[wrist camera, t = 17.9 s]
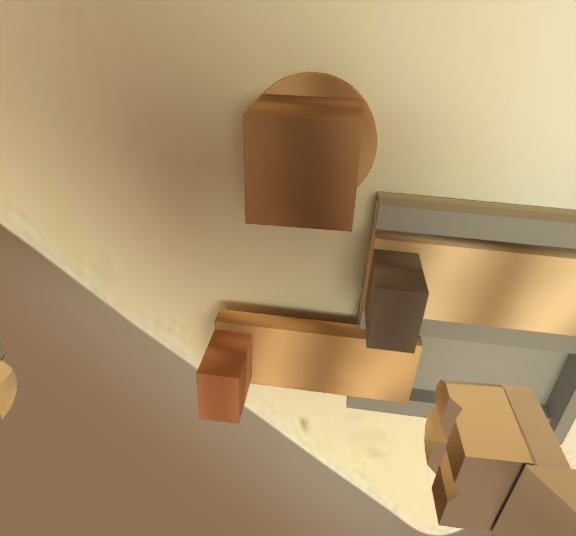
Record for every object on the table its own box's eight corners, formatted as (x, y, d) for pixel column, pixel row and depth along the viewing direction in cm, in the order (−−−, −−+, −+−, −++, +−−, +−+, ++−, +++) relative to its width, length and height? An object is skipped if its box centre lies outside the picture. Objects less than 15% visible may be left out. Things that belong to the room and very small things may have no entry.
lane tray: (347, 386, 34) (346, 416, 31) (378, 191, 26) (380, 211, 24) (546, 411, 33) (561, 444, 30) (638, 215, 25) (668, 238, 23)
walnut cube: (263, 186, 26) (245, 223, 22) (263, 94, 24) (243, 114, 20) (352, 192, 26) (351, 231, 22) (361, 98, 23) (363, 121, 19)
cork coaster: (247, 195, 27) (245, 199, 27) (248, 67, 24) (246, 68, 23) (366, 207, 27) (366, 211, 26) (386, 77, 23) (386, 79, 23)
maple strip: (363, 298, 29) (364, 356, 24) (374, 227, 26) (378, 277, 21) (580, 323, 28) (626, 388, 23) (613, 251, 25) (672, 308, 20)
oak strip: (221, 364, 33) (199, 425, 28) (220, 308, 30) (195, 364, 26) (406, 388, 32) (415, 454, 27) (420, 332, 29) (432, 394, 25)
